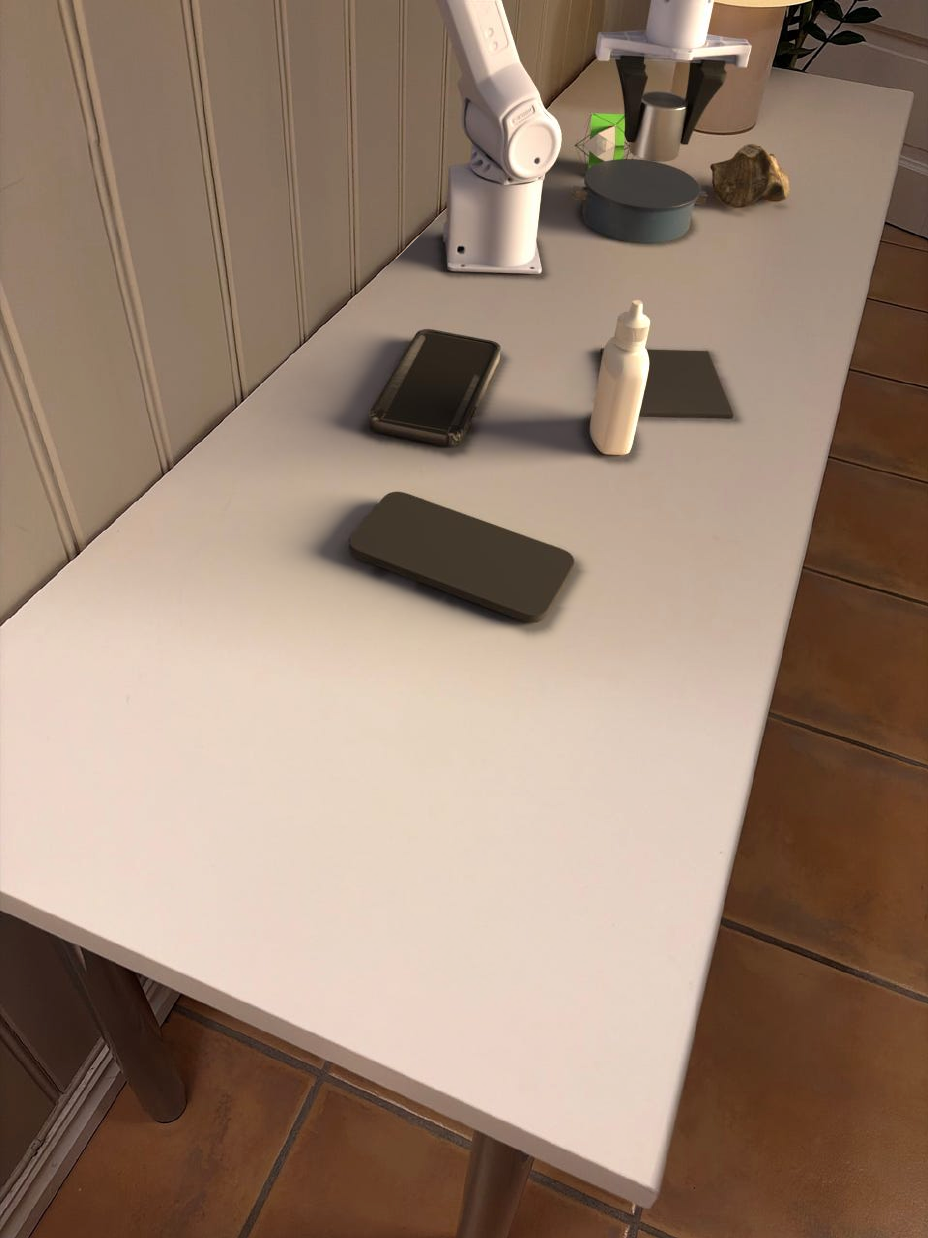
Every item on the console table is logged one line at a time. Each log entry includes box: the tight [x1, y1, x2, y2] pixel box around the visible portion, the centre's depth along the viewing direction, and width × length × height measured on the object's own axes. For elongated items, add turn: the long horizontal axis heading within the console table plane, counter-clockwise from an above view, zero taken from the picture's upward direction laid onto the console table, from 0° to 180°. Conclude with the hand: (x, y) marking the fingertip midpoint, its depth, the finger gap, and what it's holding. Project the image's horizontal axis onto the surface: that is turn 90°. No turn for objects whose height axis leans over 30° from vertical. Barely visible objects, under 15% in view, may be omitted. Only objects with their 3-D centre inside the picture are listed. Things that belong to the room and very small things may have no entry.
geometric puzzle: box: [574, 112, 635, 172], centre depth 115 cm, size 7×7×8 cm
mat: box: [600, 347, 734, 419], centre depth 86 cm, size 10×10×1 cm
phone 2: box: [347, 491, 575, 624], centre depth 69 cm, size 7×1×15 cm
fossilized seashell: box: [709, 143, 790, 209], centre depth 113 cm, size 8×7×10 cm
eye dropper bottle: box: [589, 299, 651, 456], centre depth 76 cm, size 4×6×12 cm
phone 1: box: [369, 328, 502, 448], centre depth 83 cm, size 8×1×15 cm
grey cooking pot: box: [572, 158, 708, 244], centre depth 108 cm, size 15×13×4 cm
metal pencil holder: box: [628, 90, 689, 163], centre depth 99 cm, size 5×5×5 cm
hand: (655, 139), depth 100 cm, fingers closed on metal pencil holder, 5 cm apart
